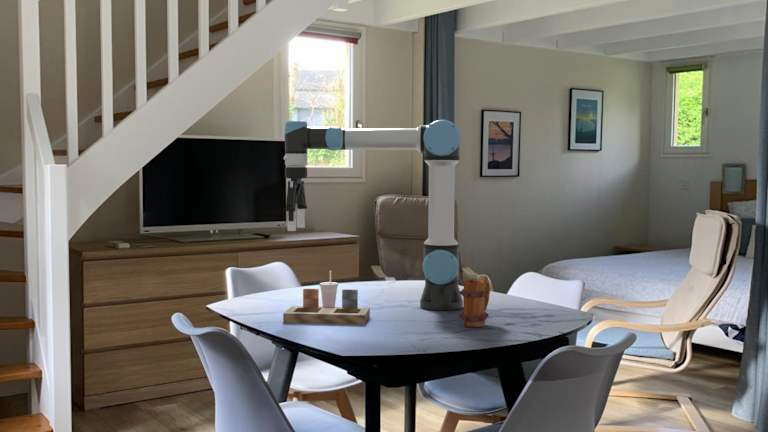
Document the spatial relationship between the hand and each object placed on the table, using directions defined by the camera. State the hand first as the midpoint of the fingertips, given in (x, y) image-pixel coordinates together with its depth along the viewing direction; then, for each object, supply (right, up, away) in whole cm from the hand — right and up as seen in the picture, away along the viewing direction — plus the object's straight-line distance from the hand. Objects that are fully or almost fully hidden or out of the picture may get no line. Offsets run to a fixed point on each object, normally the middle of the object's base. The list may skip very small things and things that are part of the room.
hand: (296, 229), depth 270 cm
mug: (+59, -30, -21) cm, 69 cm away
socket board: (+12, -29, -13) cm, 34 cm away
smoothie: (+11, -28, +1) cm, 30 cm away
